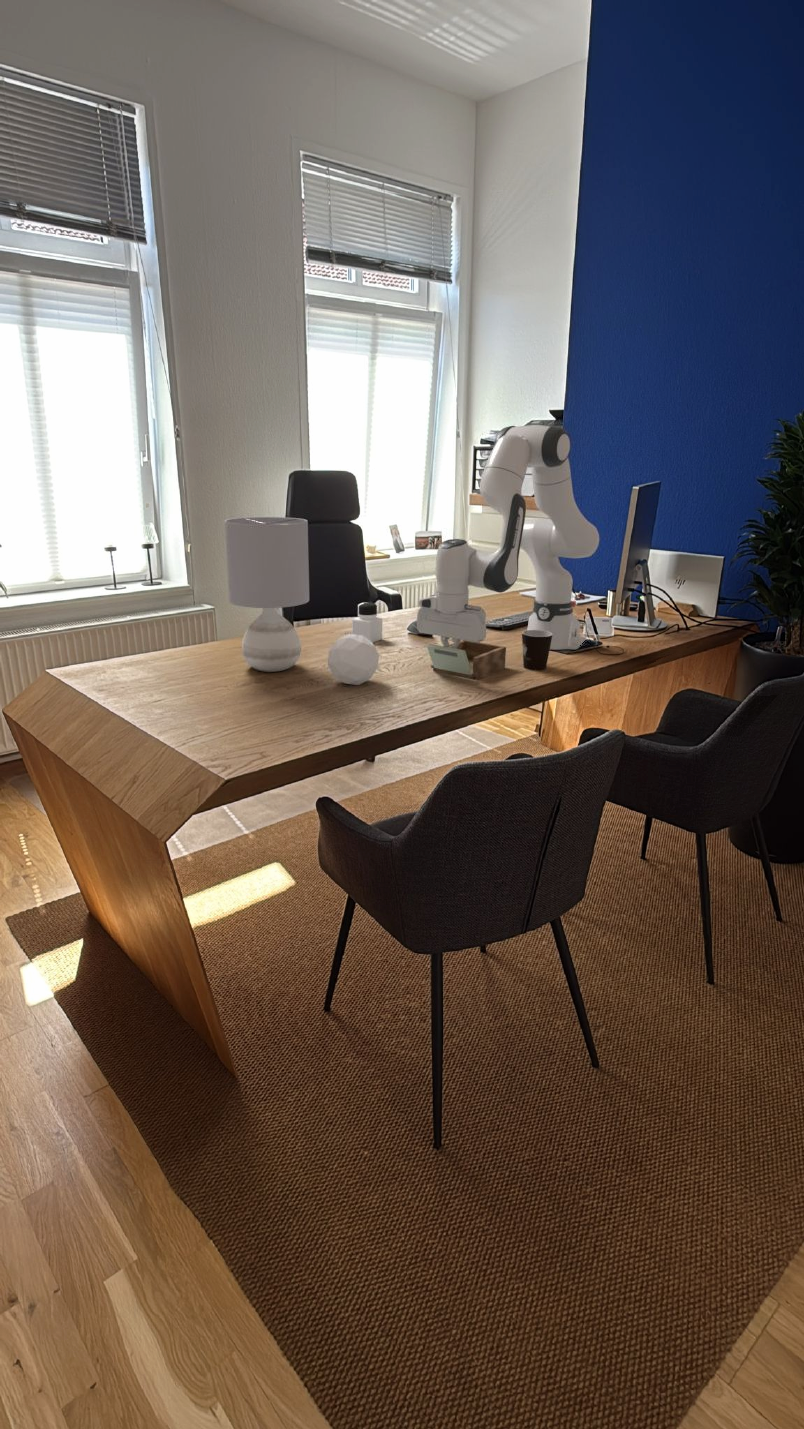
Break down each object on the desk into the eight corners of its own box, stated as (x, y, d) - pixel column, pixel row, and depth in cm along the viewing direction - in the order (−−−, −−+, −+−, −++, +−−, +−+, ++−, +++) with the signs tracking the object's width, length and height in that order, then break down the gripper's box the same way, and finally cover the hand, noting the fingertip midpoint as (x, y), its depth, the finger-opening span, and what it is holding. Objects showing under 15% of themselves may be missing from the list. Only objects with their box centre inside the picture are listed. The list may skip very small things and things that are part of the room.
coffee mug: (549, 672, 220) (552, 637, 217) (518, 670, 222) (520, 635, 219) (550, 661, 231) (553, 628, 228) (521, 659, 233) (523, 626, 229)
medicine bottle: (382, 639, 255) (382, 602, 251) (370, 643, 249) (370, 606, 245) (364, 636, 258) (364, 600, 254) (352, 640, 252) (351, 603, 248)
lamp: (326, 667, 221) (324, 521, 208) (266, 683, 206) (259, 526, 193) (277, 654, 235) (272, 515, 222) (217, 667, 220) (207, 519, 206)
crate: (463, 659, 232) (464, 639, 230) (504, 667, 224) (506, 647, 223) (430, 671, 219) (431, 650, 217) (473, 680, 211) (474, 659, 209)
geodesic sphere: (310, 657, 210) (326, 622, 200) (353, 650, 218) (370, 616, 208) (333, 699, 204) (350, 665, 194) (376, 690, 212) (395, 658, 202)
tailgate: (435, 665, 218) (428, 643, 213) (471, 672, 212) (465, 650, 207) (433, 668, 218) (426, 646, 212) (469, 675, 211) (462, 653, 206)
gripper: (491, 605, 204) (489, 656, 209) (426, 596, 215) (426, 645, 220) (479, 609, 199) (477, 661, 204) (413, 599, 211) (413, 649, 215)
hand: (450, 653), depth 212 cm, fingers closed, pressing on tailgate
